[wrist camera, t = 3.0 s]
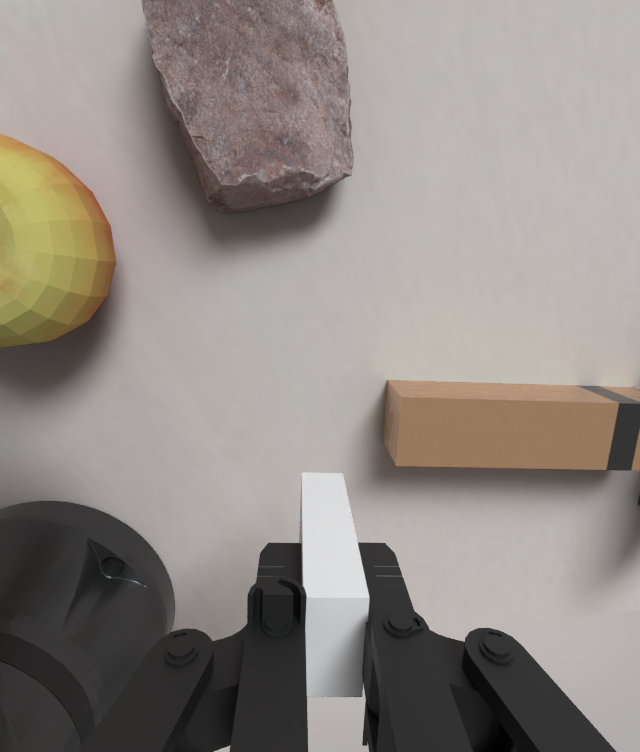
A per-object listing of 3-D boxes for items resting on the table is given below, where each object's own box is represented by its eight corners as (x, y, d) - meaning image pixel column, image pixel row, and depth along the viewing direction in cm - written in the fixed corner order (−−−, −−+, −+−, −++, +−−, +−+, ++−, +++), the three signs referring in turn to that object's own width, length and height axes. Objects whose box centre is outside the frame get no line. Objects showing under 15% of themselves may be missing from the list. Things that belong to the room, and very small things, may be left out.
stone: (367, 185, 26) (381, 167, 22) (216, 228, 26) (199, 220, 22) (311, -52, 24) (313, -129, 19) (143, -2, 24) (106, -66, 19)
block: (382, 440, 30) (395, 466, 26) (387, 379, 29) (401, 397, 25) (621, 445, 31) (668, 471, 27) (632, 387, 30) (683, 404, 26)
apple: (139, 170, 25) (70, 126, 18) (131, 344, 27) (66, 373, 20) (-48, 142, 25) (-208, 83, 17) (-42, 323, 27) (-181, 345, 19)
